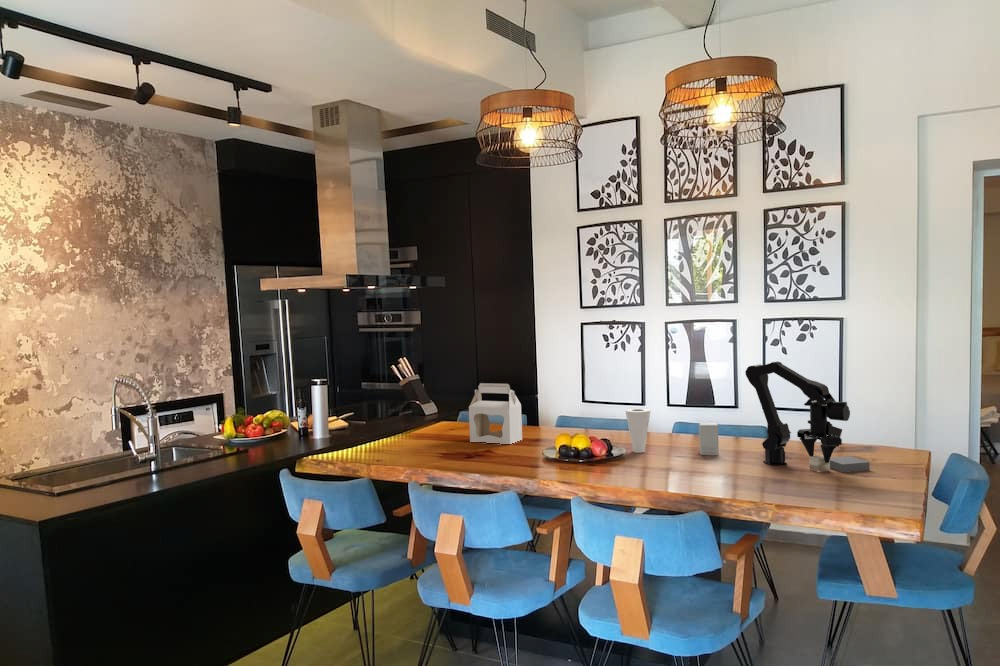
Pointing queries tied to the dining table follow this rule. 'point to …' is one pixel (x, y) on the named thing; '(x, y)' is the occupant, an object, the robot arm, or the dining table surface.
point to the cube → (818, 463)
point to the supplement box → (708, 439)
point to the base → (848, 464)
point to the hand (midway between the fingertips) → (819, 460)
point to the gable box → (504, 408)
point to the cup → (638, 427)
